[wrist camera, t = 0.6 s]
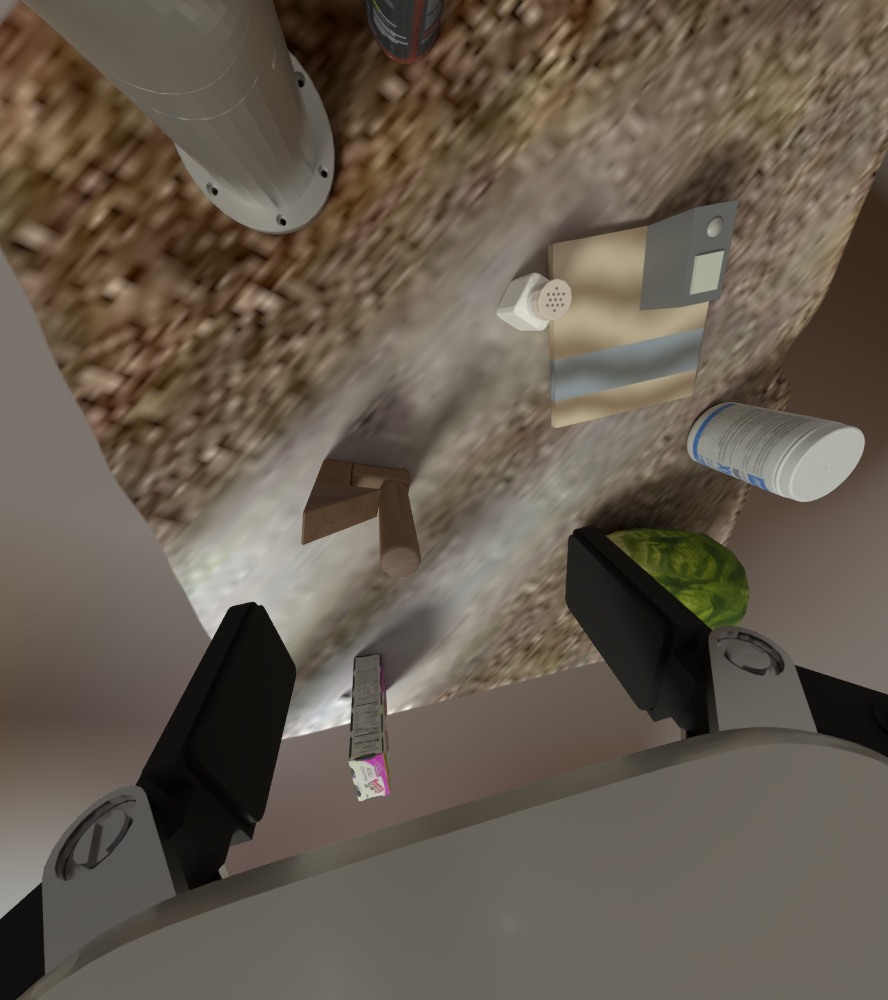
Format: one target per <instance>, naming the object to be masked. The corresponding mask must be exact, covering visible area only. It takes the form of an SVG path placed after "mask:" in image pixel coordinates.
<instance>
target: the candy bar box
mask: <svg viewBox="0 0 888 1000" xmlns="http://www.w3.org/2000/svg"><path fill="white" fill-rule="evenodd" d="M349 764H350V769H351V773H352V777H353V781H354V784H355V789H356V792H357V796H358V799H359V801H363V800H367V799H371V798H376V797H379V796H385V795H388V794H390V793H391V792H390V769H389V746H388V722H387V701H386V688H385V681H384V674H383V667H382V661H381V655H380V654H373V655H369V656H363V657H357V658H354V669H353V688H352V707H351V727H350V748H349Z"/></svg>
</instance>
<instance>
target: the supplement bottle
mask: <svg viewBox="0 0 888 1000" xmlns="http://www.w3.org/2000/svg"><path fill="white" fill-rule="evenodd" d="M443 3H444V0H365V7H366V14H367V18H368V23H369V26H370V29H371V32H372V34H373V36H374V38H375V40H376V42H377V44H378V45H379V47H380V48H381V49H382V51H383V52H384V53H385V54H386V55H387V56H388V57H390V58H391V59H392V60H394V61H396V62H398V63H401V64H414V63H416V62H419V61H421V60H422V59H423V58H424V57H425V56H426V55H427V54H428V53H429V51H430V50H431V48H432V46H433V44H434V41H435V39H436V36H437V32H438V28H439V24H440V19H441V14H442V8H443Z"/></svg>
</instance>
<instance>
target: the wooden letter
mask: <svg viewBox="0 0 888 1000" xmlns="http://www.w3.org/2000/svg"><path fill="white" fill-rule="evenodd" d="M409 487H410V478H409V474H408V471H405V470H398V469H391V468H384V467H377V466H370V465H362V464H353V465H352V463H349V462H342V461H335V460H327V459H326V460H324V461H323V464H322V466H321V469H320V471H319V474H318V476H317V479H316V482H315V484H314V486H313V489H312V491H311V494H310V497H309V499H308V502H307V504H306V507H305V509H304V512H303V525H302V545H305V544H307V543H310V542H312V541H315V540H317V539H320V538H323V537H325V536H328V535H330V534H333V533H336V532H338V531H341V530H343V529H346V528H349V527H351V526H354V525H356V524H359V523H362V522H364V521H367V520H369V519H372V518H375V517H377V513H378V507H379V532H380V564H381V567H382V569H383V570H384V571H385V572H386V573H387V574H389V575H391V576H394V577H405V576H408V575H410V574H412V573H413V572H415V570H416V569H417V568H418V566H419V564H420V562H421V555H420V550H419V545H418V540H417V535H416V530H415V526H414V521H413V516H412V511H411V506H410V501H409V496H408V492H409Z"/></svg>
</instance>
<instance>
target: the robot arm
mask: <svg viewBox="0 0 888 1000" xmlns="http://www.w3.org/2000/svg"><path fill="white" fill-rule="evenodd" d="M21 1H22V2H23V3H24V4H26V5H27V6H28V7H29V8H30V9H31V10H33V11H34V12H35V13H36V14H37V15H39V16H40V17H41V18H42V19H43V20H45V21H46V22H47V23H48V24H49V25H50V26H51V27H52V28H53V29H55V30H56V31H57V32H58V33H59V34H60V35H61V36H62V37H63V38H64V39H66V40H67V41H68V42H69V43H70V44H71V45H72V46H73V47H74V48H75V49H77V50H78V51H79V52H80V53H81V54H82V55H83V56H84V57H85V58H86V59H87V60H88V61H89V62H90V63H92V64H93V65H94V66H95V67H96V68H97V69H98V70H99V71H100V72H101V73H102V74H103V75H104V76H105V77H106V78H107V79H108V80H109V81H110V82H111V83H112V84H113V85H114V86H115V87H117V88H118V89H119V90H120V91H121V92H122V93H123V94H124V95H125V96H126V97H127V98H128V99H129V100H130V101H131V102H132V103H134V104H135V105H136V106H137V107H138V108H139V109H140V110H141V111H142V112H143V113H144V114H145V115H146V116H147V117H148V118H149V119H151V120H152V121H153V122H154V123H155V124H156V125H157V126H158V127H159V128H160V129H161V130H162V131H163V132H164V133H165V134H166V135H168V136H169V137H170V138H171V139H172V140H173V141H174V143H175V146H176V149H177V151H178V153H179V155H180V157H181V159H182V161H183V164H184V166H185V168H186V169H187V171H188V172H189V174H190V175H191V177H192V178H193V180H194V181H195V183H196V184H197V186H198V187H199V188H200V189H201V191H202V192H203V193H204V194H205V195H206V196H207V197H208V199H209V200H210V201H211V202H212V203H213V204H215V205H216V206H217V207H218V208H219V209H220V210H221V211H223V212H224V213H225V214H226V215H228V216H229V217H230V218H232V219H233V220H235V221H236V222H238V223H240V224H242V225H244V226H246V227H247V228H249V229H253V230H256V231H259V232H262V233H267V234H276V235H279V234H288V233H292V232H295V231H298V230H300V229H303V228H304V227H306V226H307V225H308V224H310V223H311V222H313V221H314V220H315V218H316V217H317V216H318V215H319V214H320V213H321V212H322V210H323V208H324V206H325V204H326V203H327V201H328V199H329V196H330V193H331V189H332V186H333V181H334V173H335V148H334V142H333V136H332V131H331V127H330V123H329V119H328V115H327V112H326V110H325V107H324V105H323V102H322V99H321V97H320V95H319V93H318V91H317V89H316V87H315V85H314V84H313V82H312V80H311V78H310V76H309V75H308V73H307V72H306V71H305V69H304V68H303V67H302V65H301V64H300V63H299V61H298V60H297V58H296V57H295V56H294V55H293V54H292V53H291V52H290V51H289V50H288V49H287V45H286V42H285V39H284V36H283V32H282V29H281V26H280V23H279V20H278V16H277V13H276V10H275V7H274V3H273V0H21ZM299 83H303V84H304V86H303V87H302V88H301V87H299ZM323 172H326V173H327V177H326V178H323V177H322V173H323ZM215 189H216V190H218V194H217V195H216V196H215V195H214V190H215ZM282 220H285V221H286V225H285V226H282V225H281V221H282ZM565 599H566V603H567V606H568V608H569V610H570V611H571V613H572V614H573V616H574V617H575V618H576V620H577V621H578V623H579V624H580V626H581V627H582V628H583V630H584V631H585V633H586V634H587V636H588V637H589V638H590V640H591V641H592V643H593V644H594V646H595V647H596V648H597V650H598V651H599V653H600V654H601V656H602V657H603V658H604V660H605V661H606V663H607V664H608V666H609V667H610V668H611V670H612V671H613V673H614V674H615V676H616V677H617V678H618V680H619V681H620V682H621V684H622V686H623V687H624V688H625V690H626V691H627V693H628V694H629V695H630V697H631V699H632V700H633V701H634V703H635V704H636V705H637V707H638V708H639V709H641V710H646V711H647V712H648V714H649V715H650V717H651V718H652V719H653V721H654V722H655V721H659V720H662V719H666V718H669V717H672V718H673V720H674V721H675V722H676V723H677V725H678V726H679V727H680V728H681V740H680V741H677V742H673V743H669V744H666V745H662V746H658V747H655V748H651V749H647V750H644V751H640V752H637V753H633V754H629V755H626V756H622V757H619V758H616V759H612V760H609V761H605V762H602V763H599V764H595V765H592V766H589V767H585V768H582V769H578V770H575V771H572V772H568V773H565V774H561V775H558V776H555V777H551V778H548V779H545V780H541V781H538V782H535V783H531V784H528V785H525V786H521V787H518V788H515V789H511V790H508V791H505V792H501V793H498V794H495V795H491V796H488V797H485V798H481V799H478V800H475V801H471V802H468V803H465V804H461V805H458V806H455V807H452V808H448V809H445V810H441V811H438V812H435V813H432V814H428V815H425V816H422V817H419V818H415V819H412V820H409V821H405V822H402V823H398V824H396V825H392V826H389V827H385V828H382V829H379V830H376V831H372V832H369V833H366V834H363V835H359V836H357V837H353V838H350V839H347V840H343V841H340V842H337V843H333V844H330V845H327V846H324V847H320V848H317V849H314V850H311V851H307V852H304V853H301V854H298V855H295V856H291V857H288V858H285V859H282V860H279V861H276V862H273V863H270V864H266V865H263V866H260V867H257V868H254V869H251V870H248V871H245V872H242V873H239V874H236V875H233V876H230V877H229V875H228V873H227V870H226V868H225V865H224V863H225V860H226V856H227V853H228V849H229V847H230V846H233V845H236V844H240V843H243V842H247V841H250V840H252V837H253V833H254V829H255V825H256V822H258V821H260V820H261V819H262V817H263V815H264V812H265V808H266V804H267V799H268V795H269V791H270V786H271V782H272V778H273V773H274V769H275V765H276V761H277V756H278V752H279V748H280V743H281V739H282V735H283V730H284V726H285V722H286V717H287V713H288V709H289V704H290V700H291V696H292V691H293V687H294V683H295V678H296V668H295V664H294V662H293V660H292V658H291V657H290V655H289V653H288V651H287V649H286V647H285V645H284V643H283V642H282V640H281V638H280V636H279V634H278V632H277V630H276V628H275V627H274V625H273V623H272V621H271V619H270V617H269V615H268V614H267V612H266V610H265V608H264V607H263V606H262V605H259V606H258V605H257V604H256V603H255V602H249V603H245V604H240V605H236V606H232V607H230V608H229V609H228V611H227V613H226V615H225V617H224V618H223V620H222V622H221V624H220V626H219V628H218V630H217V632H216V633H215V635H214V637H213V639H212V641H211V643H210V645H209V647H208V649H207V650H206V652H205V654H204V656H203V658H202V660H201V662H200V664H199V666H198V667H197V669H196V671H195V673H194V675H193V677H192V679H191V680H190V683H189V684H188V686H187V688H186V690H185V692H184V694H183V695H182V697H181V699H180V701H179V703H178V705H177V707H176V709H175V711H174V712H173V714H172V716H171V718H170V720H169V722H168V724H167V726H166V727H165V729H164V732H163V733H162V735H161V737H160V739H159V741H158V742H157V745H156V746H155V748H154V750H153V752H152V754H151V756H150V758H149V759H148V761H147V763H146V765H145V767H144V769H143V771H142V774H141V776H140V778H139V780H138V782H137V784H136V785H135V786H134V785H131V786H125V787H121V788H119V789H117V790H114V791H112V792H110V793H108V794H107V795H105V796H104V797H102V798H101V799H99V800H98V801H96V802H95V803H93V804H92V805H91V806H90V807H89V808H88V809H87V810H85V811H84V812H83V813H82V814H81V815H80V816H79V817H78V818H77V819H76V820H75V821H74V822H73V823H72V824H71V826H70V827H69V828H68V829H67V830H66V831H65V832H64V834H63V835H62V836H61V838H60V839H59V841H58V842H57V844H56V845H55V847H54V848H53V850H52V852H51V854H50V856H49V858H48V860H47V862H46V865H45V867H44V872H43V878H42V882H41V883H40V884H39V885H38V886H37V887H36V888H35V889H34V890H32V891H31V892H30V893H29V894H28V895H27V896H26V897H25V898H24V899H22V900H21V901H20V902H19V903H18V904H17V905H16V906H15V907H13V908H12V909H11V910H10V911H9V912H8V913H7V914H6V915H5V916H3V917H2V918H1V919H0V1000H888V695H887V694H884V693H881V692H878V691H875V690H871V689H869V688H865V687H862V686H859V685H856V684H853V683H850V682H847V681H843V680H840V679H837V678H834V677H831V676H828V675H824V674H821V673H818V672H815V671H812V670H809V669H806V668H803V667H799V666H796V665H794V663H793V661H792V660H791V658H790V656H789V655H788V654H787V653H786V652H785V651H784V650H783V649H782V648H781V646H779V645H778V644H776V643H775V642H773V641H772V640H771V639H769V638H767V637H765V636H763V635H761V634H759V633H757V632H755V631H752V630H749V629H746V628H742V627H736V626H721V627H719V628H716V629H714V630H712V629H711V628H710V627H708V626H707V625H706V624H705V623H704V622H703V621H702V620H701V619H700V618H698V617H697V616H696V615H695V614H694V613H693V612H692V611H691V610H689V609H688V608H687V607H686V606H685V605H684V604H683V603H681V602H680V601H679V600H678V599H677V598H676V597H675V596H674V595H672V594H671V593H670V592H669V591H668V590H667V589H666V588H664V587H663V586H662V585H661V584H660V583H659V582H658V581H657V580H655V579H654V578H653V577H652V576H651V575H650V574H649V573H647V572H646V571H645V570H644V569H643V568H642V567H641V566H640V565H638V564H637V563H636V562H635V561H634V560H633V559H632V558H630V557H629V556H628V555H627V554H626V553H625V552H624V551H623V550H621V549H620V548H619V547H618V546H617V545H616V544H615V543H613V542H612V541H611V540H610V539H609V538H608V537H607V536H606V535H604V534H603V533H602V532H601V531H600V530H599V529H598V528H596V527H595V526H588V527H583V528H579V529H575V530H574V531H573V535H570V536H569V539H568V557H567V576H566V596H565Z"/></svg>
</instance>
